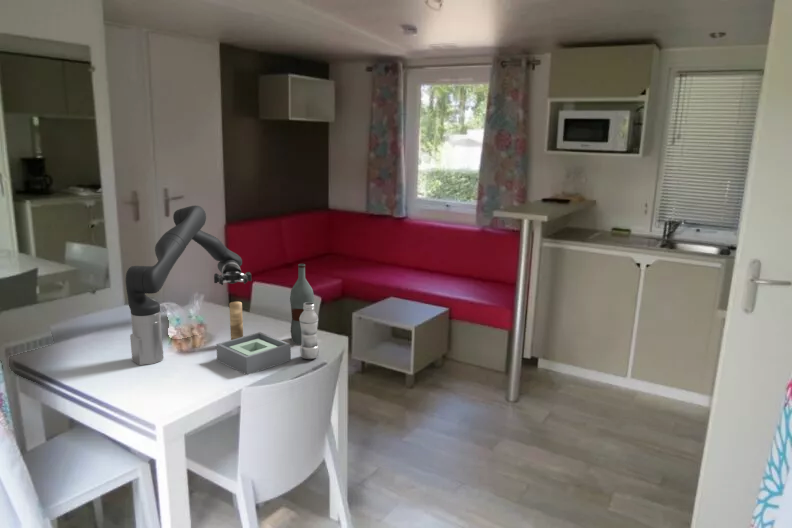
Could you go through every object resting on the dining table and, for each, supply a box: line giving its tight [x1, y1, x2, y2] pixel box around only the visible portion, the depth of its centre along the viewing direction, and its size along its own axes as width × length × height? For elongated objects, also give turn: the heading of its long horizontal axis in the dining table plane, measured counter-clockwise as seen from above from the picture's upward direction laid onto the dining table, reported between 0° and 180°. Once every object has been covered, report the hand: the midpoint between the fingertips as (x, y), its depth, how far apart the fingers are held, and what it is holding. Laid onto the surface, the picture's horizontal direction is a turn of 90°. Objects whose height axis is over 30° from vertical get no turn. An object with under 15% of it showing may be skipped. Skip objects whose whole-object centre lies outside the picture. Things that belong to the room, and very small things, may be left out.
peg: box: [228, 301, 244, 340], centre depth 212 cm, size 4×4×16 cm
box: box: [215, 331, 292, 376], centre depth 198 cm, size 18×18×6 cm
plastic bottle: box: [299, 302, 320, 360], centre depth 199 cm, size 6×7×20 cm
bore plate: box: [229, 339, 278, 356], centre depth 198 cm, size 12×12×4 cm
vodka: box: [289, 263, 315, 345], centre depth 216 cm, size 9×9×30 cm
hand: (233, 281), depth 219 cm, fingers open, 8 cm apart
